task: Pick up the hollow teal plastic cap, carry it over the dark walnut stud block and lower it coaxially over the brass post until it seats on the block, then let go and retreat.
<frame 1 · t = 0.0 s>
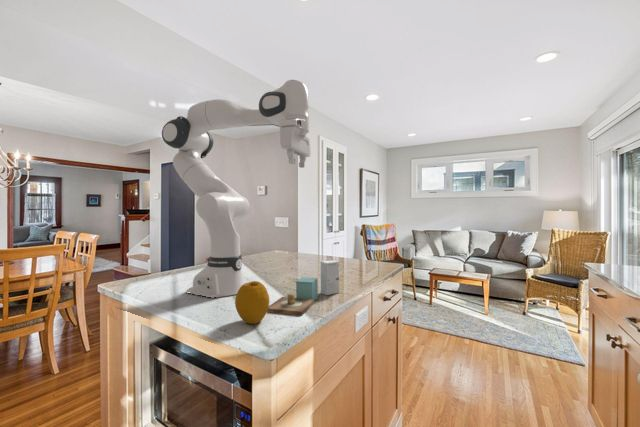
hand: (297, 165, 104), 48 cm above the counter, fingers open, 8 cm apart
cap: (307, 298, 103), on the counter
stud block: (291, 307, 95), on the counter
skincare box: (329, 293, 110), on the counter
apple: (253, 322, 83), on the counter
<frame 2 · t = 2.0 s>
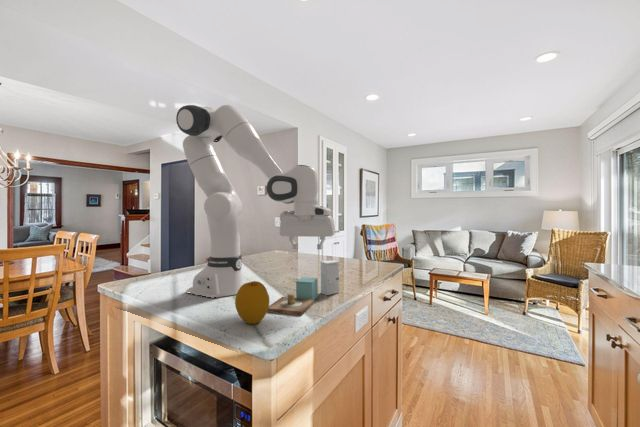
hand: (307, 249, 103), 18 cm above the counter, fingers open, 8 cm apart
nothing on the counter moved.
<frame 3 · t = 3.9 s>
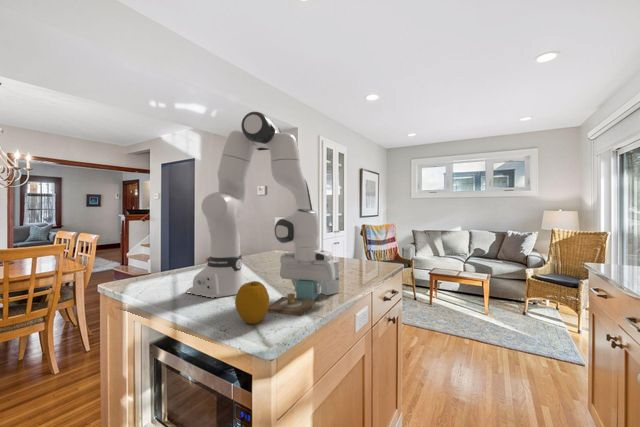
hand: (307, 292, 103), 2 cm above the counter, fingers closed on cap, 6 cm apart
cap: (307, 298, 103), on the counter, touching gripper
everything else where it was.
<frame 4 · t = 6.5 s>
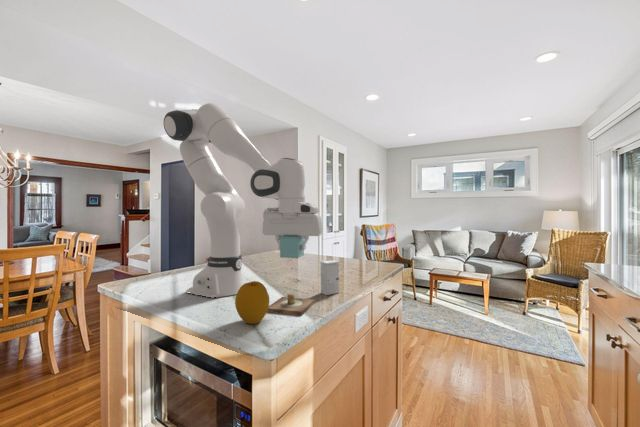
hand: (292, 249, 95), 19 cm above the counter, fingers closed on cap, 6 cm apart
cap: (292, 256, 95), point 17 cm above the counter, touching gripper
everything else where it was.
when the fingers open (4 cm above the counter, at t = 9.1 s): cap stays where it is, resting on stud block.
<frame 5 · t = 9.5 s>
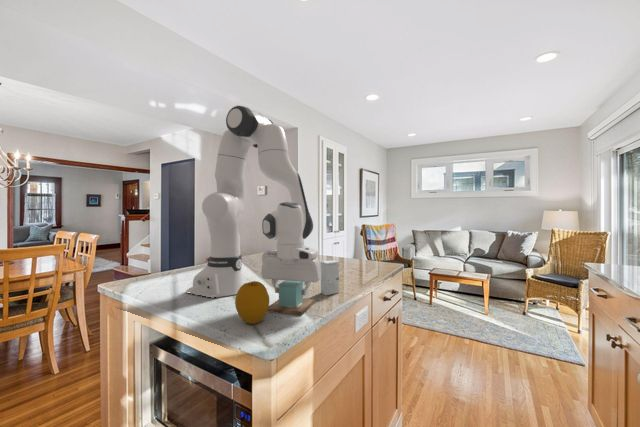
hand: (291, 293, 94), 4 cm above the counter, fingers open, 8 cm apart
cap: (291, 303, 95), point 1 cm above the counter, touching stud block
everything else where it was.
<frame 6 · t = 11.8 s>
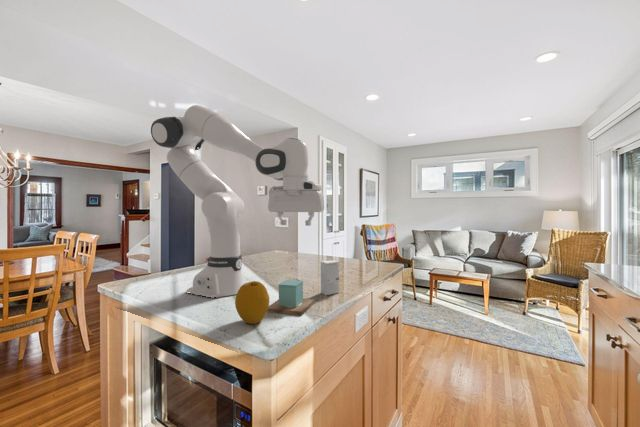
hand: (295, 225, 100), 27 cm above the counter, fingers open, 8 cm apart
nothing on the counter moved.
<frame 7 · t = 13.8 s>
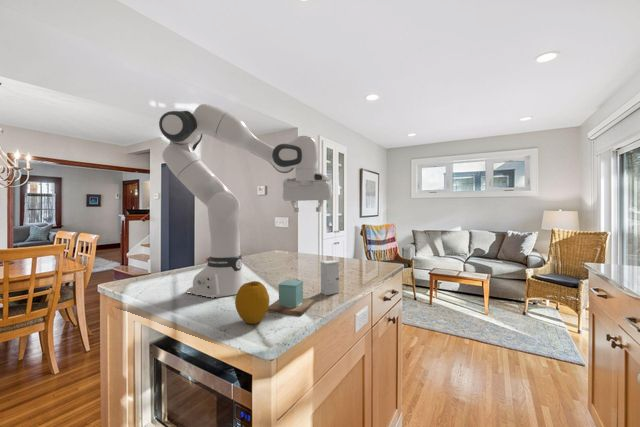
hand: (307, 211, 116), 31 cm above the counter, fingers open, 8 cm apart
nothing on the counter moved.
at the end: cap 0.1 cm off-centre on the stud block, point 1.3 cm above the stud block's base; cap tilted 0°; the gripper is holding nothing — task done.
